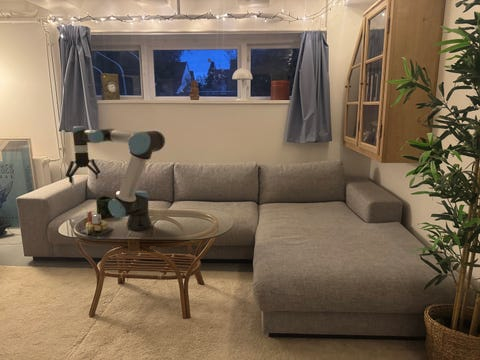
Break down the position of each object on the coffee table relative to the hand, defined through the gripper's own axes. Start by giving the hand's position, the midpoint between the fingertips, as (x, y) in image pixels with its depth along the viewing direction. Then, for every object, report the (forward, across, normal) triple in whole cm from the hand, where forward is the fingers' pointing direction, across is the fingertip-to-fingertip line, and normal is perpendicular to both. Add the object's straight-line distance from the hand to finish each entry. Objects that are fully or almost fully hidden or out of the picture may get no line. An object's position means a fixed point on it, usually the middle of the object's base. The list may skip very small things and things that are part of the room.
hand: (84, 186), depth 229 cm
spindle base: (+25, 0, +15) cm, 29 cm away
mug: (+25, -16, -14) cm, 32 cm away
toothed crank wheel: (+24, 0, +13) cm, 27 cm away
